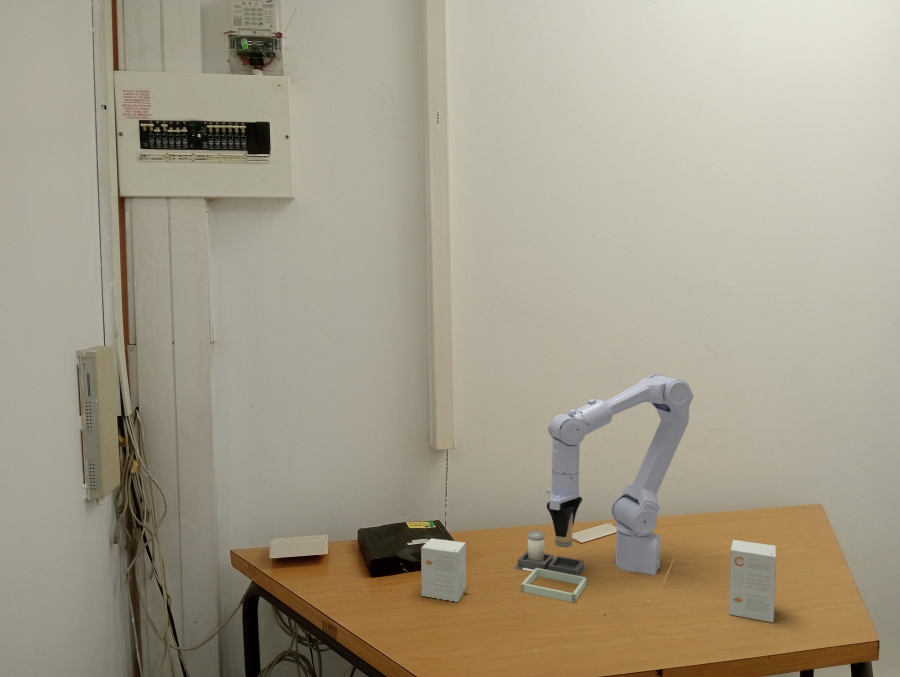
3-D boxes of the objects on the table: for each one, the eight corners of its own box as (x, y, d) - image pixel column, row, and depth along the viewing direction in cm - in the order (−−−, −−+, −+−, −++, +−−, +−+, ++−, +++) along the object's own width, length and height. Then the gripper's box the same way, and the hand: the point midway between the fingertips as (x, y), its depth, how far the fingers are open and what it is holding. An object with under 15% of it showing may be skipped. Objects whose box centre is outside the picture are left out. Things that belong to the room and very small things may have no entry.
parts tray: (586, 589, 147) (587, 577, 147) (574, 607, 139) (574, 595, 139) (535, 578, 152) (535, 567, 152) (520, 595, 144) (521, 584, 143)
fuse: (546, 562, 158) (546, 532, 158) (540, 568, 155) (541, 537, 154) (530, 559, 160) (531, 529, 159) (525, 565, 157) (525, 534, 156)
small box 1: (466, 591, 146) (467, 542, 145) (458, 603, 140) (458, 552, 139) (430, 586, 148) (430, 537, 147) (420, 597, 143) (420, 546, 142)
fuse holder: (587, 569, 157) (587, 558, 157) (575, 585, 149) (576, 573, 149) (527, 558, 163) (527, 547, 163) (513, 572, 155) (513, 561, 155)
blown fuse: (574, 542, 153) (575, 511, 152) (569, 548, 149) (570, 516, 149) (558, 539, 154) (558, 508, 154) (552, 545, 151) (553, 513, 151)
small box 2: (774, 609, 139) (776, 545, 137) (773, 623, 133) (777, 556, 132) (729, 601, 142) (732, 538, 141) (727, 615, 136) (730, 549, 135)
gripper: (557, 461, 159) (556, 520, 160) (536, 476, 146) (534, 540, 147) (588, 465, 156) (587, 525, 157) (569, 481, 143) (567, 546, 144)
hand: (563, 533), depth 152 cm, fingers closed on blown fuse, 4 cm apart
